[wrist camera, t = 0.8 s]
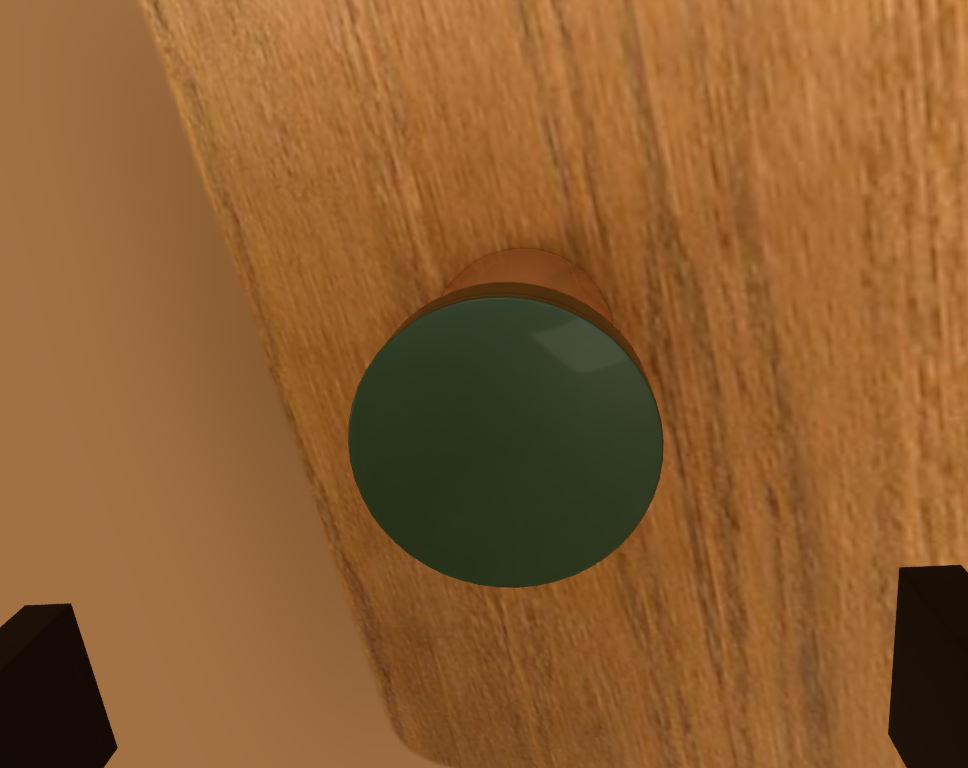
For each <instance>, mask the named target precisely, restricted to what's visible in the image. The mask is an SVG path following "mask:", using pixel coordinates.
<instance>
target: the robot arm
mask: <svg viewBox="0 0 968 768" xmlns="http://www.w3.org/2000/svg"><path fill="white" fill-rule="evenodd" d="M888 735H889V736H890V738H891V740H892V742H893V744H894V746H895V747H896V749H897V751H898V753H899V755H900V756H901V758H902V760H903V762H904V764H905V766H906V767H907V768H968V572H967V571H966V570H965V569H964V568H963V567H962V566H961V565H948V566H925V567H902V568H899V581H898V596H897V611H896V626H895V640H894V655H893V670H892V685H891V699H890V714H889V729H888ZM116 750H117V744H116V741H115V738H114V735H113V732H112V729H111V726H110V723H109V720H108V717H107V713H106V710H105V707H104V704H103V701H102V698H101V695H100V692H99V689H98V686H97V682H96V679H95V677H94V673H93V670H92V667H91V664H90V661H89V658H88V655H87V652H86V648H85V646H84V642H83V639H82V636H81V633H80V630H79V627H78V624H77V621H76V618H75V614H74V612H73V608H72V605H71V604H49V605H27V606H26V605H25V606H24V607H23V608H22V609H20V610H19V611H18V612H17V613H16V614H15V615H14V616H13V617H11V619H9V620H8V621H7V622H6V623H5V624H4V625H2V626H1V627H0V768H104V766H105V765H106V764H107V762H108V761H109V759H110V758H111V756H112V755H113V754H114V752H115V751H116Z"/></svg>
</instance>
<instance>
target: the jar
mask: <svg viewBox="0 0 968 768" xmlns="http://www.w3.org/2000/svg"><path fill="white" fill-rule="evenodd" d="M491 282H518V283H528V284H534V285H539V286H543V287H547V288H551V289H554V290H557V291H559V292H562V293H565V294H567V295H570V296H572V297H574V298H576V299H578V300H579V301H581V302H583V303H585V304H587V305H589V306H590V307H591V308H593V309H594V310H596V311H597V312H598V313H600V314H601V315H603V316H604V317H605V318H606V319H607V320H608V321H609V322H610V323H611V324H613V325H614V323H613V319H612V316H611V313H610V309H609V307H608V304H607V302H606V300H605V298H604V296H603V294H602V293H601V291H600V289H599V288H598V286H597V285H596V284H595V283H594V281H593V280H592V279H591V278H590V277H589V276H588V275H587V274H586V273H585V272H584V271H583V270H582V269H580V268H579V267H578V266H576V265H575V264H574V263H572V262H570V261H568V260H567V259H565V258H563V257H561V256H558V255H556V254H553V253H550V252H546V251H542V250H538V249H528V248H517V249H508V250H502V251H498V252H495V253H491V254H489V255H486V256H484V257H482V258H480V259H478V260H476V261H475V262H473V263H471V264H470V265H468V266H467V267H466V268H464V269H463V270H462V271H461V272H460V273H459V274H458V275H457V276H456V277H455V278H454V279H453V280H452V281H451V282H450V284H449V285H448V286H447V288H446V289H445V291H444V292H443V294H442V295H441V296H444V295H446V294H448V293H450V292H453V291H456V290H459V289H462V288H466V287H469V286H473V285H479V284H485V283H491ZM441 296H440V297H441Z"/></svg>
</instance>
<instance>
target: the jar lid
mask: <svg viewBox="0 0 968 768" xmlns="http://www.w3.org/2000/svg"><path fill="white" fill-rule="evenodd" d="M348 445H349V454H350V462H351V466H352V470H353V474H354V478H355V481H356V484H357V486H358V489H359V491H360V494H361V496H362V498H363V500H364V502H365V504H366V505H367V507H368V509H369V511H370V513H371V514H372V516H373V517H374V518H375V520H376V521H377V522H378V524H379V525H380V526H381V528H382V529H383V530H384V531H385V532H386V533H387V534H388V535H389V537H390V538H391V539H392V540H393V541H394V542H395V543H396V544H398V545H399V546H400V547H401V548H402V549H404V550H405V551H406V552H407V553H408V554H410V555H411V556H413V557H414V558H416V559H417V560H419V561H420V562H422V563H423V564H425V565H426V566H428V567H430V568H432V569H434V570H436V571H438V572H440V573H442V574H445V575H448V576H450V577H453V578H456V579H459V580H462V581H466V582H470V583H474V584H478V585H485V586H492V587H514V588H518V587H528V586H538V585H542V584H547V583H551V582H556V581H559V580H562V579H565V578H567V577H570V576H573V575H575V574H578V573H580V572H582V571H584V570H586V569H588V568H590V567H592V566H593V565H595V564H596V563H598V562H599V561H601V560H602V559H604V558H605V557H607V556H608V555H609V554H611V553H612V552H613V551H614V550H615V549H616V548H618V547H619V546H620V545H621V544H622V543H623V542H624V541H625V540H626V539H627V537H628V536H629V535H630V534H631V533H632V532H633V531H634V530H635V528H636V527H637V525H638V524H639V522H640V521H641V519H642V518H643V516H644V515H645V513H646V511H647V509H648V507H649V505H650V503H651V501H652V499H653V497H654V494H655V491H656V488H657V485H658V482H659V479H660V474H661V468H662V462H663V432H662V423H661V418H660V414H659V411H658V407H657V403H656V400H655V397H654V394H653V392H652V389H651V386H650V383H649V381H648V378H647V376H646V373H645V371H644V369H643V366H642V364H641V362H640V360H639V358H638V357H637V355H636V353H635V352H634V350H633V348H632V347H631V345H630V344H629V343H628V341H627V340H626V339H625V338H624V336H623V335H622V334H621V333H620V331H619V330H618V329H617V328H616V327H615V326H614V325H613V324H611V323H610V322H609V321H608V320H607V319H606V318H605V317H604V316H603V315H601V314H600V313H598V312H597V311H596V310H594V309H593V308H591V307H590V306H589V305H587V304H585V303H583V302H581V301H579V300H578V299H576V298H574V297H572V296H570V295H567V294H565V293H562V292H559V291H557V290H554V289H551V288H547V287H543V286H539V285H534V284H528V283H518V282H491V283H485V284H479V285H473V286H469V287H466V288H462V289H459V290H456V291H453V292H450V293H448V294H446V295H444V296H441V297H439V298H437V299H435V300H433V301H432V302H430V303H429V304H427V305H425V306H424V307H422V308H421V309H419V310H418V311H417V312H415V313H414V314H413V315H412V316H411V317H409V318H408V319H407V320H406V321H405V322H404V323H403V324H402V325H401V326H400V327H399V328H398V329H397V330H396V332H395V333H394V334H393V335H392V336H391V337H390V339H389V340H388V341H387V342H386V343H385V345H384V346H383V347H382V348H381V350H380V351H379V352H378V353H377V355H376V356H375V358H374V359H373V361H372V362H371V364H370V365H369V366H368V368H367V369H366V371H365V373H364V375H363V378H362V380H361V382H360V384H359V386H358V388H357V391H356V394H355V397H354V401H353V404H352V408H351V414H350V420H349V434H348Z"/></svg>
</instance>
